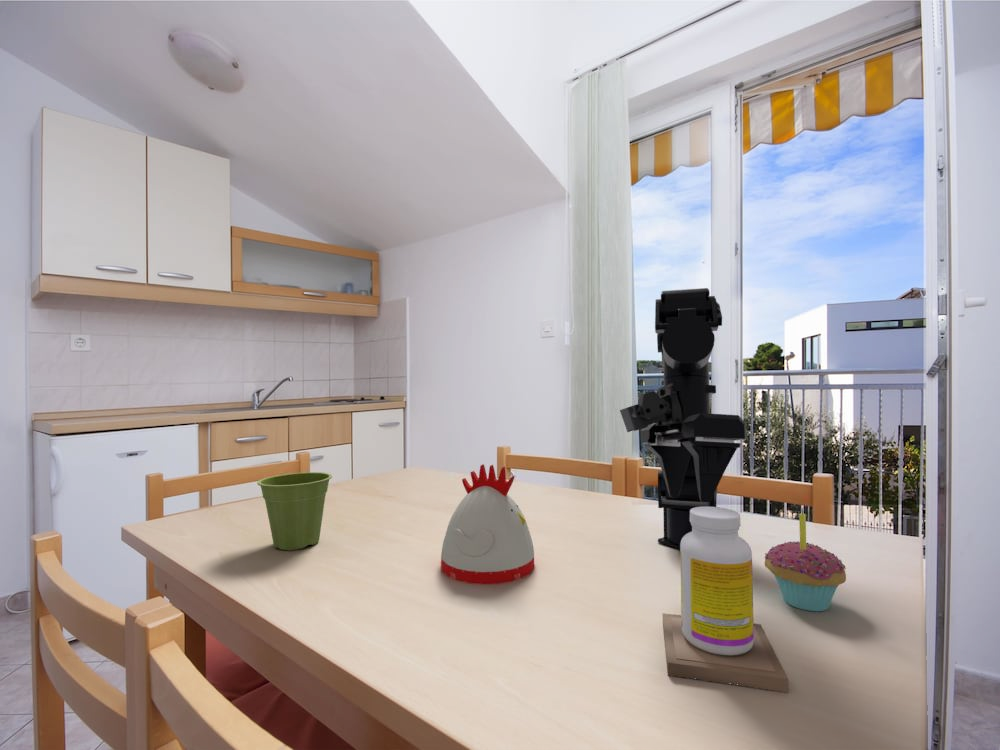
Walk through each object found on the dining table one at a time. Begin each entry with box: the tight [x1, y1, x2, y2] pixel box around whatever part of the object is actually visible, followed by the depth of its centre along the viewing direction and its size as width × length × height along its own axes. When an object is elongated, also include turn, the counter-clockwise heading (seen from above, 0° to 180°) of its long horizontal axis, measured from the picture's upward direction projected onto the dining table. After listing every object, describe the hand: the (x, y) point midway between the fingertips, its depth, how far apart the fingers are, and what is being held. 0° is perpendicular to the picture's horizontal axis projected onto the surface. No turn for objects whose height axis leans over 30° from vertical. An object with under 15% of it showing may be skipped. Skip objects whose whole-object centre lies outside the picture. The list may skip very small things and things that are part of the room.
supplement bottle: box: [679, 506, 754, 655], centre depth 50 cm, size 7×7×13 cm
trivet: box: [662, 613, 789, 693], centre depth 49 cm, size 10×10×1 cm
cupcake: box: [764, 507, 847, 612], centre depth 61 cm, size 9×8×12 cm
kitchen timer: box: [440, 463, 535, 585], centre depth 74 cm, size 14×14×15 cm
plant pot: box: [256, 471, 333, 551], centre depth 85 cm, size 12×12×11 cm
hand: (688, 499), depth 63 cm, fingers open, 9 cm apart
